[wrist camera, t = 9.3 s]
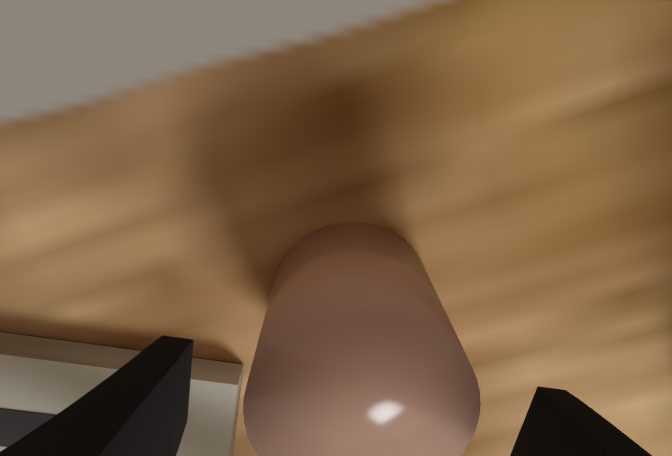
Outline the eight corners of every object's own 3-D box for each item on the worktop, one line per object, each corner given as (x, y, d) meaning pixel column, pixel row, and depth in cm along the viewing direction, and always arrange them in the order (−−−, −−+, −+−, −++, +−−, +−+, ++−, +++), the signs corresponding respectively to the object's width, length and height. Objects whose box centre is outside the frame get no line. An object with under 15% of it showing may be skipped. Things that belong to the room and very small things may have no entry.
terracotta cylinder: (409, 369, 15) (446, 512, 10) (264, 350, 14) (232, 487, 10) (445, 235, 13) (510, 329, 8) (283, 210, 13) (256, 292, 8)
